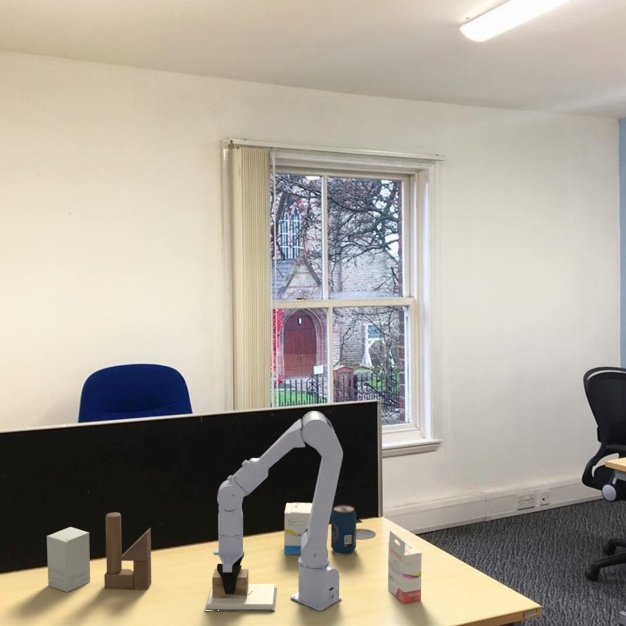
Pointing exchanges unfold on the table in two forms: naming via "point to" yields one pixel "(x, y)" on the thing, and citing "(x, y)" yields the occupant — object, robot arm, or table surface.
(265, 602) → the marked board
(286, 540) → the ink box
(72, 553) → the supplement box
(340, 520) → the soda can
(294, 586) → the table surface
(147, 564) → the wooden block
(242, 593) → the block
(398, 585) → the ink cartridge box
